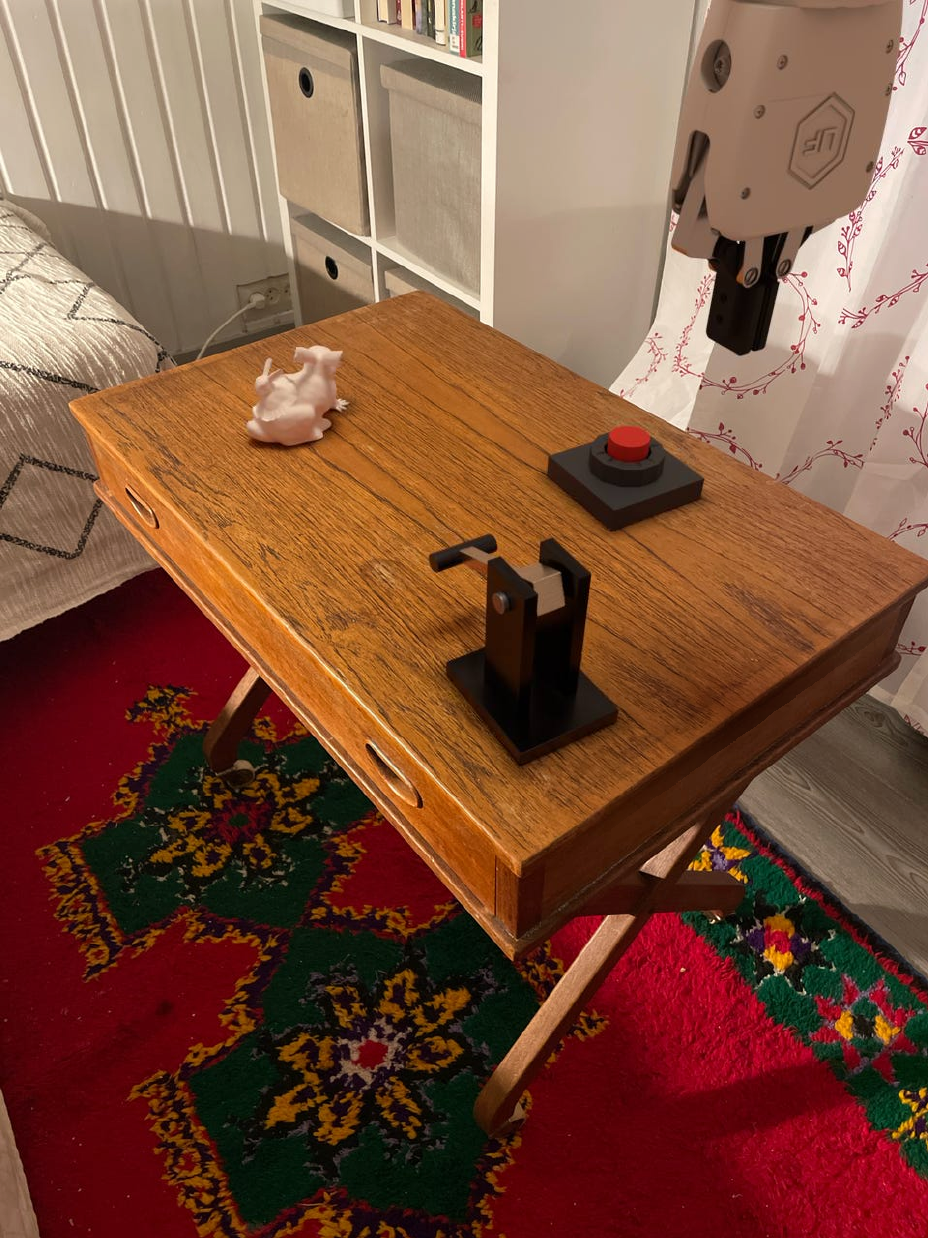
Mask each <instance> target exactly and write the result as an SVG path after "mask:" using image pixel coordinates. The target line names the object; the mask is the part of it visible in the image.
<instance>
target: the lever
mask: <svg viewBox="0 0 928 1238" xmlns="http://www.w3.org/2000/svg"><path fill="white" fill-rule="evenodd" d="M497 551H498V543H497V540H496V538H495V536H494V535H493V534H492V533H487V534H484V535H481V536H478V537H475V538H472V539H468V540H466V541H464V542H460V543H457V544H455V545H452V546H449V547H446V548H443V549H440V550H437V551H434V552H432V553H429V555H428V563H429V566H430V569H432V572H434V573H435V574H438V573H441V572H444V571H446V570H449V569H452V568H455V567H457V566H460V565H464V566H466V567H469V568H471V569H472V570H475V571H476V572H478V573H480V574H483V575H484V576H486V577H487V563H488V560H491V559H493V558H496V557H497V556H494V555H492V554H494V553H496V552H497ZM507 563H508V564H509V565H510V566H511V567H512V568H513V569H514V570H515V571H516V572H517V573H518V574H519V575H520V576H521V577H522V578H523V579H524V580H525V581H526V582H527V583H528V584H529V585H530V586H531V587H532V588H533V589H534V590H535V591H536V592H537V593H538V606H537V617H539V616H541V615H544V614H546V613H549V612H551V611H554V610H556V609H559V608H562V607H564V606H565V597H564V590H563V582H562V575H561V572H560V571H557V570H555V569H553V568H550V567H548V566H546V565H544V564H541V563H539V561H536V562H533V563H531V564H528V565H525V566H522V567H518V566H515V565H513V564H511V563H509V562H507Z"/></svg>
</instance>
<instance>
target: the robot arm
mask: <svg viewBox="0 0 928 1238" xmlns="http://www.w3.org/2000/svg"><path fill="white" fill-rule="evenodd" d="M903 14H904V0H711V3H710V5H709V9H708V12H707V14H706V18H705V21H704V23H703V28H702V31H701V35H700V37H699V41H698V44H697V48H696V52H695V55H694V59H693V64H692V66H691V71H690V75H689V80H688V84H687V88H686V92H685V96H684V101H683V105H682V111H681V115H680V121H679V126H678V131H677V136H676V144H675V150H674V156H673V161H672V170H671V180H670V193H669V194H670V206H671V210H672V212H673V213H675V214H676V215H677V216H678V218H677V222H676V224H675V228H674V231H673V233H672V237H671V241H670V246H671V249H672V250H674V251H676V252H678V253H680V254H681V255H683V256H686V257H687V258H690V259H700V260H701V259H702V260H707V266H708V268H709V270H710V271H713V272H714V273H715V278H714V284H713V287H712V288H713V289H712V294H711V299H710V306H709V309H708V310H709V311H708V316H707V321H706V327H705V334H706V337H707V338H708V339H709V340H711V341H713V342H714V343H716V344H717V345H720V346H721V347H723V348H725V349H726V350H728V351H729V352H731V353H733V354H735V355H737V356H738V357H742V356H745V355H748V354H750V353H751V352H754V353H755V352H759V351H762V350H764V349H765V348H766V345H767V341H768V337H769V333H770V328H771V324H772V319H773V316H774V310H775V306H776V302H777V298H778V293H779V289H780V284H781V281H779V280H783V279H786V278H787V277H788V276H789V275H790V274H791V272H792V270H793V268H794V264H795V261H796V259H797V256H798V253H799V250H800V249H801V248H802V247H803V246H804V244H805V243H806V241H807V240H808V239H809V237H810V236H811V235H814V234H815V233H818V232H819V231H821V230H823V229H825V228H827V227H828V226H830V225H832V224H833V223H835V222H836V221H837V220H838V219H842V218H844V217H846V216H848V215H850V214H852V213H854V212H855V211H856V210H858V209H859V208H860V207H861V206H862V205H863V204H864V203H865V201H866V199H867V197H868V194H869V191H870V188H871V186H872V182H873V178H874V175H875V171H876V168H877V163H878V159H879V155H880V151H881V146H882V142H883V138H884V133H885V129H886V125H887V119H888V114H889V109H890V104H891V101H892V94H893V90H894V84H895V78H896V73H897V67H898V59H899V52H900V47H901V45H900V44H901V37H902V26H903Z"/></svg>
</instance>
